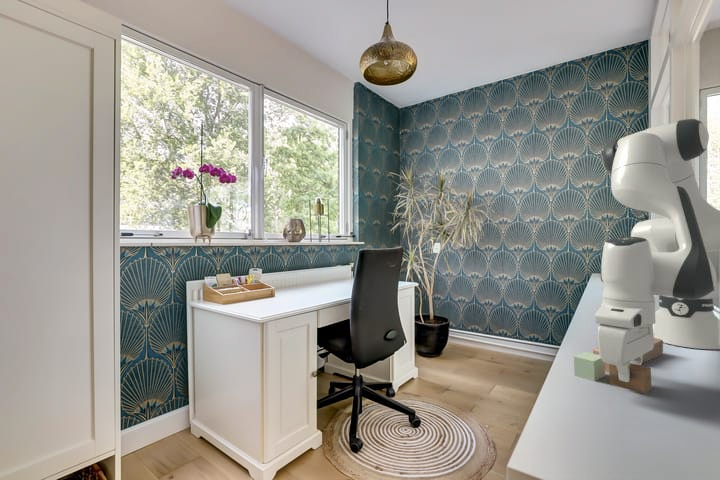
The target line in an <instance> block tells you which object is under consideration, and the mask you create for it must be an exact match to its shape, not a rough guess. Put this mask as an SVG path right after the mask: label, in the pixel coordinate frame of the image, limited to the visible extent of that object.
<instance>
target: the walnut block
mask: <svg viewBox="0 0 720 480" xmlns="http://www.w3.org/2000/svg"><path fill="white" fill-rule="evenodd" d="M629 370H630V372H631V380H630V381H629V382H624V381H621V380H619V377H618V370H617V367H616V365H612V364H609V372H608V373H609V385H611V386H616V387H619V388H623V389H626V390H629V391H634V392H636V393H641V394H644V395H645V394H647V393H648V392H650V391H651V390H652V371H651V370H652V369H651V367H649V366H644V365H642V364H641V365H636V364H632V363H630V366H629Z"/></svg>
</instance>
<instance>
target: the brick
mask: <svg viewBox="0 0 720 480" xmlns="http://www.w3.org/2000/svg"><path fill="white" fill-rule="evenodd" d="M663 351H664V342H663V340H661V339H658V338H654V347H653V349H652V350H651V351H649V352H647V353H645V354H643V359H642V363H643V364H644V363H647V362H649V361H651V359H652V360H654V359H656V357H657V358H658V356H659V357H660V356H661V355H662V354H663ZM653 358H654V359H653ZM648 360H649V361H648ZM642 363H641V365H643V364H642Z"/></svg>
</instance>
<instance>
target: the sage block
mask: <svg viewBox="0 0 720 480" xmlns="http://www.w3.org/2000/svg"><path fill="white" fill-rule="evenodd" d="M573 363H574V364H573V365H574V366H573V370H574V377H578V378H581V379H585V380H589V381H592V382H596V381H598V380H599V379H601V378H604V377H605V376H606V371H605V363H604V362H603V361H602V359H601V357H600V355H597V354H593V352H589V351H588V352H587V351H584V352H582V353H579V354H577V355H575V356H573Z"/></svg>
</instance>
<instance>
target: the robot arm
mask: <svg viewBox="0 0 720 480" xmlns="http://www.w3.org/2000/svg"><path fill="white" fill-rule="evenodd" d="M709 139H710V135H709V131H708V129H707V128H706V126H705V125H704V124H703V122H702V121H701V120H698V119H696V118H687V119H686V118H685V119H681V120H677V122H671V123H666V124H661V125H656V126H652V127H648V128H646V129H644V130H640V131H638V132H634V133H631V134H629V135H625V136H623V137H618V138H615V139H613V140H611V141H609V142H607V144H606V145H605V146H604V148H603V149H602V162H603V165H604V167H605V169H606V171H607V172H609V173H611V177H610V187H611V193H612V196H613V198H614V199H615V200H616V201H617V202H618V203H620V204H621V205H622V206H625V207H628V208H629V209H632V210H637V211H641V212H647V213H652V214H655V215H659V216H662V217H658V218H657V217H655V218H650V219H647V220H646V219H645V220H643V221H638V222H637V223H635V225H634V226H633V228H632V230H631V232H630V236H622V237H612V238H610V239H607V240H606V241H604V245H603V248H602V256H601V263H600V271H599V272H600V281H601V282H602V283H603V291H602V295H601V305H600V307H599V308H598V310H597V311H596V312H595V314H594V321H595V324H599V325H598V327H597V342H598V343H597V344H598V348H599V354H600V357H601V359H602V361H603V362H604V363H608V364H612V365H616V367H617V370H618V377H619V380H621V381H624V382H629V381H630V380H631V372H630V370H629V366H630V363H632V364H636V365H641V366H642V364H641V363H642V359H643V354H645V353H647V352H649V351H651V350H652V349H653V347H654V338H658V339H661V340H663V344H669V345H673V346H678V347H683V348H684V347H685V348H691V349H700V350H720V319H719V318H718V316H716V315H715V313H714V311H715V308H714V307H715V304H714V299H713V298H712V296H711V295H712V292H714V291H715V288H716V284H717V273H716V268H715V266H714V264H713V262H712V261H711V259H710V257H709V256H708V253H714V252H715V253H716V252H720V210H719V209H717V208H716V207H714V206H713V205H711V204H710V203H709V202H708V200H706V199H705V198H704V197H703V195H702V193H701V191H700V188H699V186H698V182H697V178H696V175H695V171H694V169H693V165H692V161H691V160H693V159H696V158H698V157H701V155H702V154H703V153H705V151H706V150H707V146H708V144H709ZM655 296H658V306H659V308H658V309H657V310H656V298H655Z"/></svg>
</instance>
